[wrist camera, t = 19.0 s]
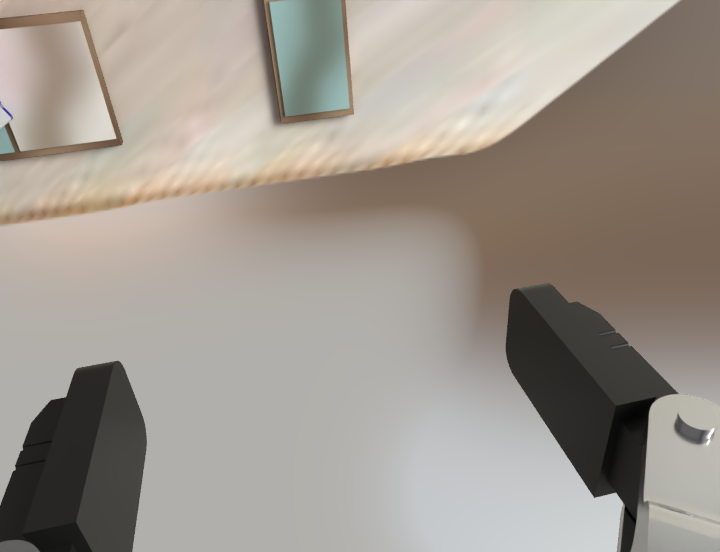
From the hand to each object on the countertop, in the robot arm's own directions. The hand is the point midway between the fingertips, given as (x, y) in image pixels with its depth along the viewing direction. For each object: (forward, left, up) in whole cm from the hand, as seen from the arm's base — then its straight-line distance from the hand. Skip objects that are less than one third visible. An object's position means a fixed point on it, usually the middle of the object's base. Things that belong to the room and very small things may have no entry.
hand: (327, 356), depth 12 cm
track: (+4, -7, -30) cm, 31 cm away
